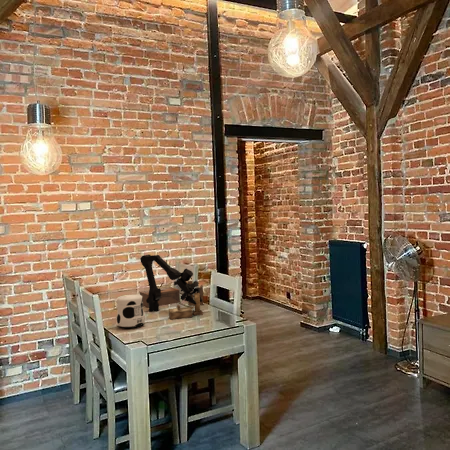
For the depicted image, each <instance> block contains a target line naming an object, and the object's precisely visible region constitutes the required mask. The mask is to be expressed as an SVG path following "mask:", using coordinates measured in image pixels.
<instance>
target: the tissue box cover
mask: <svg viewBox="0 0 450 450" xmlns="http://www.w3.org/2000/svg"><path fill="white" fill-rule="evenodd" d="M160 289H161V293H162V294H161V297H160V299H159V301H158V304H159V307H162V306H168V305H173V304H178V303H179V302H181V295H180V293H181V292H180V288H175V287H172V286H168V287H161V288H160ZM139 295H141V296H142V298H143V307H145V308H147V309H149V304H148V303H147V302H146V299H147V298H148V297H149V289H148V290H141V291H139Z"/></svg>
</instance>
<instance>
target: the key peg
mask: <svg viewBox="0 0 450 450" xmlns="http://www.w3.org/2000/svg"><path fill="white" fill-rule="evenodd" d="M193 299H194V300H195V302H196V303H197V304H196V305H195V306H194V310H195V312H200V310H201V305H200V294H199V293H194V297H193Z"/></svg>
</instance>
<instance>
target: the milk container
mask: <svg viewBox="0 0 450 450" xmlns="http://www.w3.org/2000/svg"><path fill="white" fill-rule="evenodd" d="M116 307H117V308H116V310H117V311H116V317H115V319H116V320H115V321H116V324H117V326H118V327H119V328H122V329H133V328H138V327H141V326H142V325H144V324H145V321H146V314H145V312H144V306H143V298H142V296H141V295H140V294H125V295H121V296H118V297H117V298H116Z"/></svg>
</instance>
